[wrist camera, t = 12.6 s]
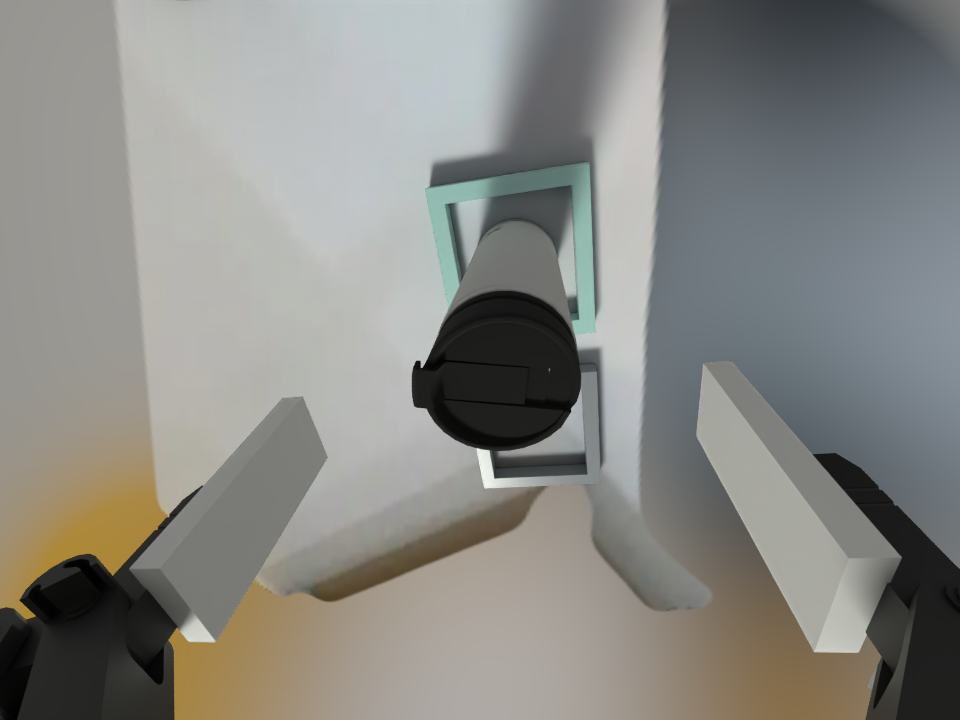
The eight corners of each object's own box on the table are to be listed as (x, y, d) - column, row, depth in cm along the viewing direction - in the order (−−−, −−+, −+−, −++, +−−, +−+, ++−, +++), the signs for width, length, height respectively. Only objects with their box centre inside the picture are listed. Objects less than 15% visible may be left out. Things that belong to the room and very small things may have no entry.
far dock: (458, 338, 37) (456, 345, 36) (593, 324, 35) (595, 332, 34) (485, 477, 44) (484, 488, 43) (598, 472, 42) (600, 483, 41)
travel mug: (473, 214, 32) (407, 310, 15) (561, 221, 32) (602, 329, 14) (469, 293, 35) (410, 452, 18) (550, 301, 35) (571, 471, 17)
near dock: (429, 186, 32) (425, 189, 30) (586, 161, 30) (589, 162, 28) (458, 338, 37) (456, 345, 36) (593, 324, 35) (595, 332, 34)
